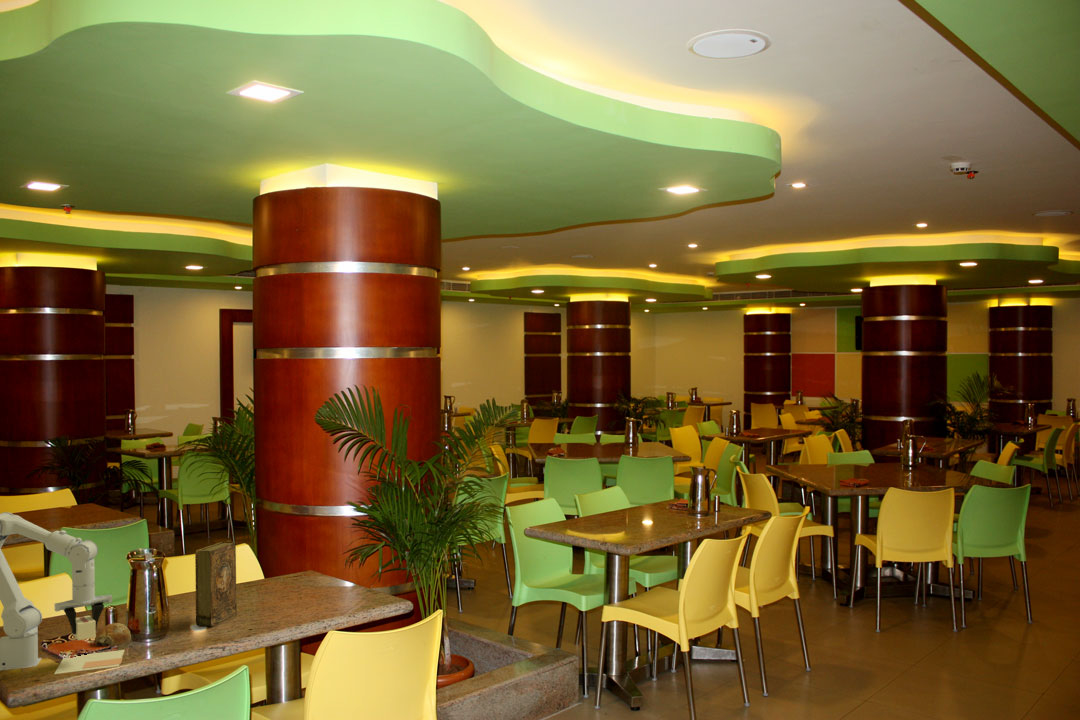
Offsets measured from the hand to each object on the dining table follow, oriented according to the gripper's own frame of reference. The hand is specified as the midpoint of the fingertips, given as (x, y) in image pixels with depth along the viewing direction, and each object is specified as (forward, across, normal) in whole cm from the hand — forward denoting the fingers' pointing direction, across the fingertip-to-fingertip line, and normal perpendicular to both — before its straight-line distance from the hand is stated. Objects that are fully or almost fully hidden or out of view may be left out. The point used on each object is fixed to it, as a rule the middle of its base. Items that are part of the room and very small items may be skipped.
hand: (84, 631), depth 245 cm
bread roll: (+9, +11, +15) cm, 21 cm away
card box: (+1, 0, 0) cm, 1 cm away
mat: (+9, +1, -2) cm, 9 cm away
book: (+9, +44, +18) cm, 48 cm away
